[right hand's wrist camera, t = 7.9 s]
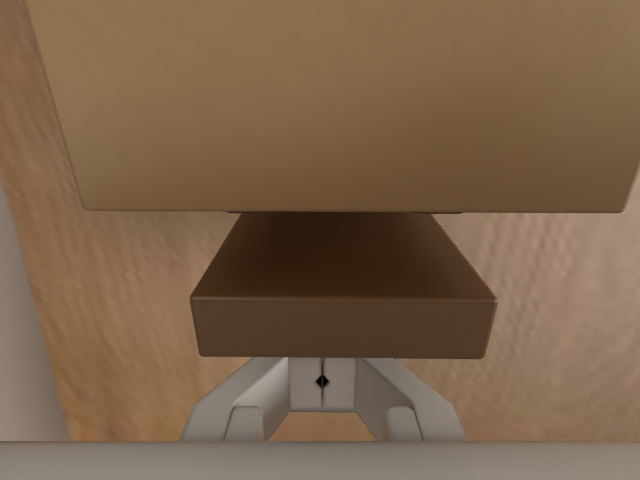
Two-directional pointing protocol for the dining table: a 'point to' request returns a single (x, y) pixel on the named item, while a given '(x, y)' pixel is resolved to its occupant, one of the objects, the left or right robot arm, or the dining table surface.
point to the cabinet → (346, 103)
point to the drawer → (341, 290)
